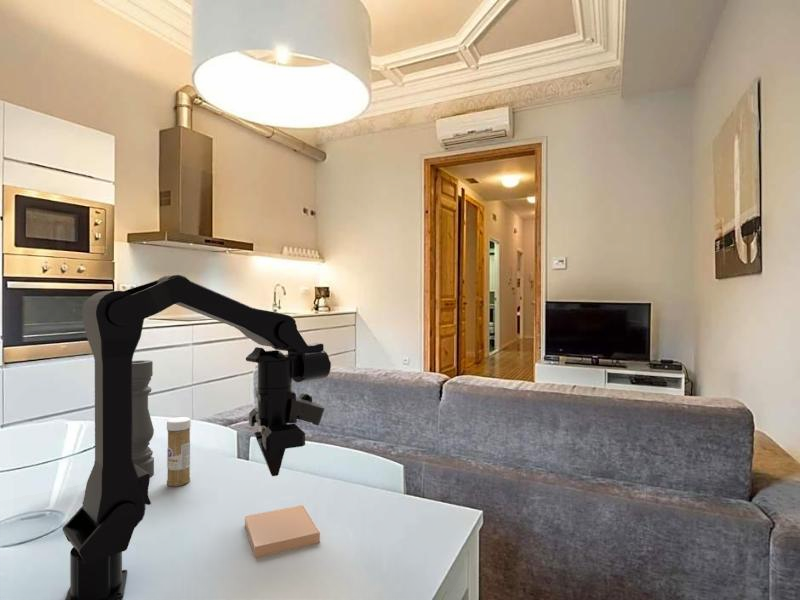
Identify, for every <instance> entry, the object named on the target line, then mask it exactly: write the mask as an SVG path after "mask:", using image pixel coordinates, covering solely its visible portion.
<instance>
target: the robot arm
mask: <svg viewBox="0 0 800 600" xmlns="http://www.w3.org/2000/svg"><path fill="white" fill-rule="evenodd" d="M174 305H177V306H179V307H181V308H184V309H187V310H189V311H192V312H195V313H197V314H200V315H202V316H205V317H207V318H209V319H212V320H214V321H218V322H220V323H223V324H225V325H228V326H230V327H234V328H235V329H237V330H238V331H240V332H241V333H242V334H243V335H244V336H245V337H247V338H248V339H249V340H251V341H253V342H254V343H256V344H258V345H260V346H263V347H259V346H257V347H254V349H253V351H251V353H249V354H248V355H247V356H246V357H245V361H246V362H250V363H255V364H257V390H255V397H256V399H257V407H256V408H255V407H254V408H252V409H251V411H250V412H249V414H248V425H250V427H255V424H256V423H257V425H258V429H259V430H258V431H256V432H254V433H253V435H254V436H255V439H256V442H257V444H258V446H259V449H260V452H261V453H262V456H263V458H264V460H265V463H266V465H267V468H268V471H269V473H270V475H271V477H277V476H279V475H280V471H281V470H280V469H281V466H282V463H283V459H284V455H285V453H286V449H293V448H301V447H305V446H306V433H305V432H304V431H303V430H302V429H301V428H300V427H299V426H298V425H297V424H296V423H297V422H298V420H299V421H303V422H307V423H312V425H314V426H320V424H321V421H322V418H323V415H324V412H325V407H324V406H322V405H321V404H319V403H317V402H315V401H313V396H312V395H310V394H309V393H303V392H302V393H301V394H300V395H299V396H298V397H297V394H296V392H295V391H293V390H292V389H293V386H292V385H293V384H292V380H293V381H294V382H296V383H302V382H309V381H314V380H315V381H316V380H322V379H326V378H327V377H328V376H329V375H330V372H331V368H332V362H331V360H330V357H329V355H328V353H327V352H326V350H325V349H324V343H320V342H319V343H318V342H316V343H315V342H313V343H309V344H308V343H306V341H305V339H304V337H303V336H302V334H301V333H300V332H299V330H298V327H297V323H296V320H295V318H294V317H292V316H291V315H289V314H284V313H281V312H280V313H279V312H275V311H271V310H265V309H259V308H255V307H252V306H249V305H247V304H244V303H242V302H239V301H238V300H235V299H233V298H231V297H229V296H226V295H224V294H222V293H219V292H218V291H214V290H212V289H211V288H209V287H205V286H203V285H200V284H199V283H196V282H194V281H191V280H190V279H188V278H187V277H186V276H184V275H181V274H174V275H164V276H162V277H160V278H158V279H157V280H154V281H151V282H148V283H144V284H142V285H137V286H135V287H131V288H127V289H126V290H108V291H107V290H106V291H105V290H104V291H99V292H97V293H94V294H92V295H91V296H90V297H88V298H87V299H86V300H85V301H84V303H83V305H82V308H81V315H82V316H81V317H82V321H83V326H84V331H85V337H86V338H87V341H88V344H89V347H90V350H91V352H92V355H93V358H94V464H93V466H92V469H91V471H90V474H89V476H88V478H87V481H86V486H85V490H84V496H83V500H82V506H80V508H79V509H78V511H76V512H75V514H74V515H73V516H72V517H71V518H70V519H69V520H68V521H67V522H66V523H65V524H64V526H62V529H61V530H62V532H63V534H64V536H65V538H66V540H67V541H68V543H70V544H71V546H73V547H72V548H71V550H70V552H69V555H70V559H69V561H70V563H69V564H70V565H69V567H70V568H69V569H70V571H69V572H70V574H69V576H70V580H69V581H70V586H69V588H68V591H67V594H66V597H65V599H64V600H121V599H123V598H124V595H125V589H126V584H127V578H128V569H123V552H125V551H127V550H128V547H129V545H130V541H131V539H132V536H133V534H134V531H135V528H137V526H138V525H139V523H140V522H142V521H143V519H144V517H145V514H146V509H147V507H146V505H148V506H149V505H151V504H152V503H151V499H150V498H149V487H150V486H149V485H150V479H151V477H150V475H149V474H148V473H147V472H145V471H144V470H142V469H141V468H139V467H138V466H136V465H135V464H134V463H133V427H132V361H133V358H134V354H135V352H136V349H137V346H138V344H139V342H140V340H141V338H142V337H141V336H142V330H143V326H144V321H145V319H147V318H150V317H152V316H154V315H157V314H159V313H161V312H163V311H165V310H167V309H168V308H170V307H171V306H174ZM264 346H265V347H271V348H272V349H274V350H265V348H264ZM282 351H285V352H287V354H284V353H283V352H282Z"/></svg>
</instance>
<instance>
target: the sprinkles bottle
mask: <svg viewBox="0 0 800 600" xmlns="http://www.w3.org/2000/svg"><path fill="white" fill-rule="evenodd" d="M191 423H192V422H191V418H190V417H188V416H179V417H172V418H170V419H167V420H166V430H167V455H166V457H167V458H166V460H167V461H166V468H167V478H166V479H167V480H166V484H167V485H168V486H170V487H179V486H183V485H185V484H188V483H189V482H190V481H191V476H190V474H191V473H190V472H191V426H192V424H191Z"/></svg>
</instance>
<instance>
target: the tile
mask: <svg viewBox="0 0 800 600" xmlns="http://www.w3.org/2000/svg"><path fill="white" fill-rule="evenodd" d="M244 527H245V531H246V533H247V537H248V540H249V545H250V547H251V550H252V552H253V553H252V554H253V556H254V558H258V557H262V556H268V555H272V554H276V553H281V552H284V551H288V550H293V549H297V548H302V547H306V546H311V545H314V544H318V543H321V536H320V535H321V533H320V530H319V529H318V528H317V526H316V524H315V522H314V521H313V519H312V518H311V516H310V514H309V512H308V511H307V509H306V508H305V506H304V505H303V504H301V505H296V506H291V507H285V508H281V509H276V510H271V511H270V510H269V511H265V512H261V513H260V512H259V513H255V514H250V515H245V516H244Z"/></svg>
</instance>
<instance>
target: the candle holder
mask: <svg viewBox="0 0 800 600" xmlns="http://www.w3.org/2000/svg"><path fill="white" fill-rule="evenodd" d="M153 363H154V362H153V360H148V359H147V360H145V359H143V360H132V427H133V463H134V464H135V465H136V466H138V467H139V468H141V469H142V470H144V471H145V472H147V473H148V474H149V475H150V478H151V477H153V476H154V475H155V457H153V453H154V451H153V450H152V448H150V446H149V445H150V442H151V441H152V439H153V436H154V434H155V429H154V425H153V421H152V418H151V413H150V410H149V395H150V393H151V392H152V388H151V387H150V386H149V384H150V382H151V380H152V377H153V375H154V373H153V371H154V370H153Z"/></svg>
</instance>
